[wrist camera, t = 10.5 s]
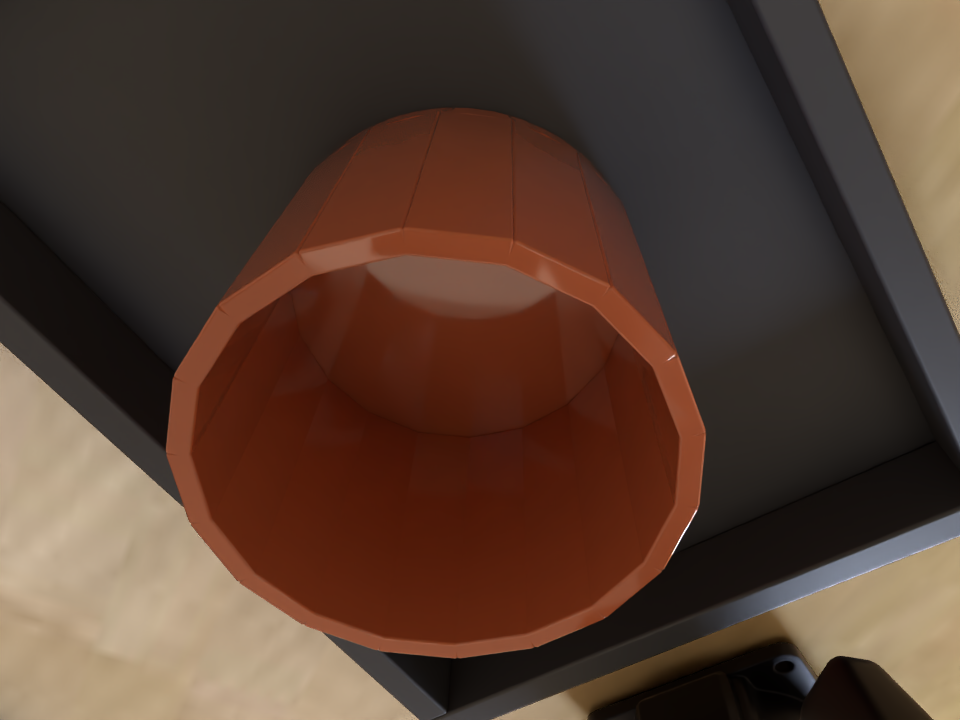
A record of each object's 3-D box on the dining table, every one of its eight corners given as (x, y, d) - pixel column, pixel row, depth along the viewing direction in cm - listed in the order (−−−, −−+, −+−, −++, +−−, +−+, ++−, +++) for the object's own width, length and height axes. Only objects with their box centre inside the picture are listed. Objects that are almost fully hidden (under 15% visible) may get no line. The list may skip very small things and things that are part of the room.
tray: (971, 434, 18) (1034, 509, 16) (447, 659, 22) (441, 740, 20) (493, -634, 10) (490, -783, 8) (-172, 54, 14) (-291, 82, 12)
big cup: (703, 334, 16) (795, 541, 11) (419, 482, 18) (384, 712, 13) (514, 20, 13) (518, 102, 8) (203, 242, 15) (50, 417, 10)
